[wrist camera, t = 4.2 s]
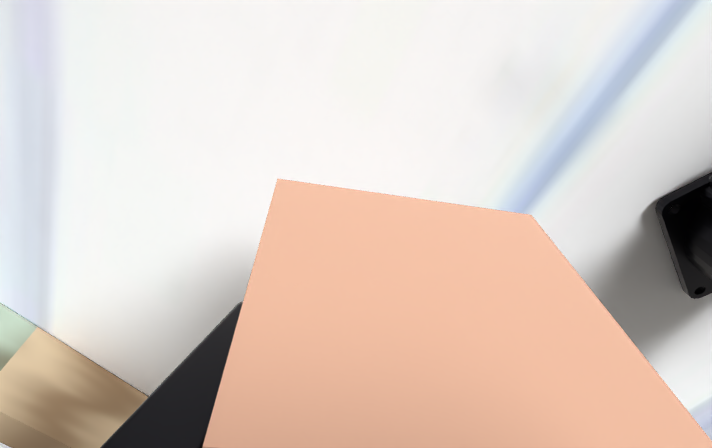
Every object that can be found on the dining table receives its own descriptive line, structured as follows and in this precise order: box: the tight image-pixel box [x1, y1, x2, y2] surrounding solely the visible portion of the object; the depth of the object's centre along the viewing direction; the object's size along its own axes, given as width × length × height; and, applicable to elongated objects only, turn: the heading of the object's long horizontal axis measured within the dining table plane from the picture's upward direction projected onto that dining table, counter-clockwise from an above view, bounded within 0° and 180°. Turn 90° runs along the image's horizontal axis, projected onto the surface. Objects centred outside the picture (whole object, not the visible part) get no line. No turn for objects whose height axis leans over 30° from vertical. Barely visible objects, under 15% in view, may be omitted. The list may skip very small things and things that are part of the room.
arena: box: [0, 303, 148, 448], centre depth 15 cm, size 21×21×4 cm
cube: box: [203, 179, 712, 448], centre depth 7 cm, size 5×5×5 cm
